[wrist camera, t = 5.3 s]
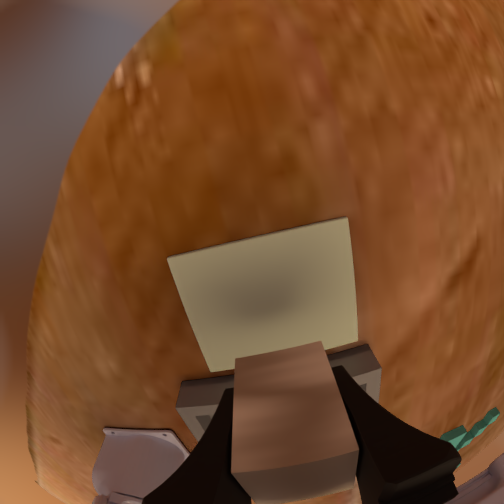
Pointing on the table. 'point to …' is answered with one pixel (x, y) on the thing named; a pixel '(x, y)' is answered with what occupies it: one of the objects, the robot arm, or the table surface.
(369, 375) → the box
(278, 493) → the brown block
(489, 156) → the table surface
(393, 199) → the table surface
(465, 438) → the alien figure
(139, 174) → the table surface
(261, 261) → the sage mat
